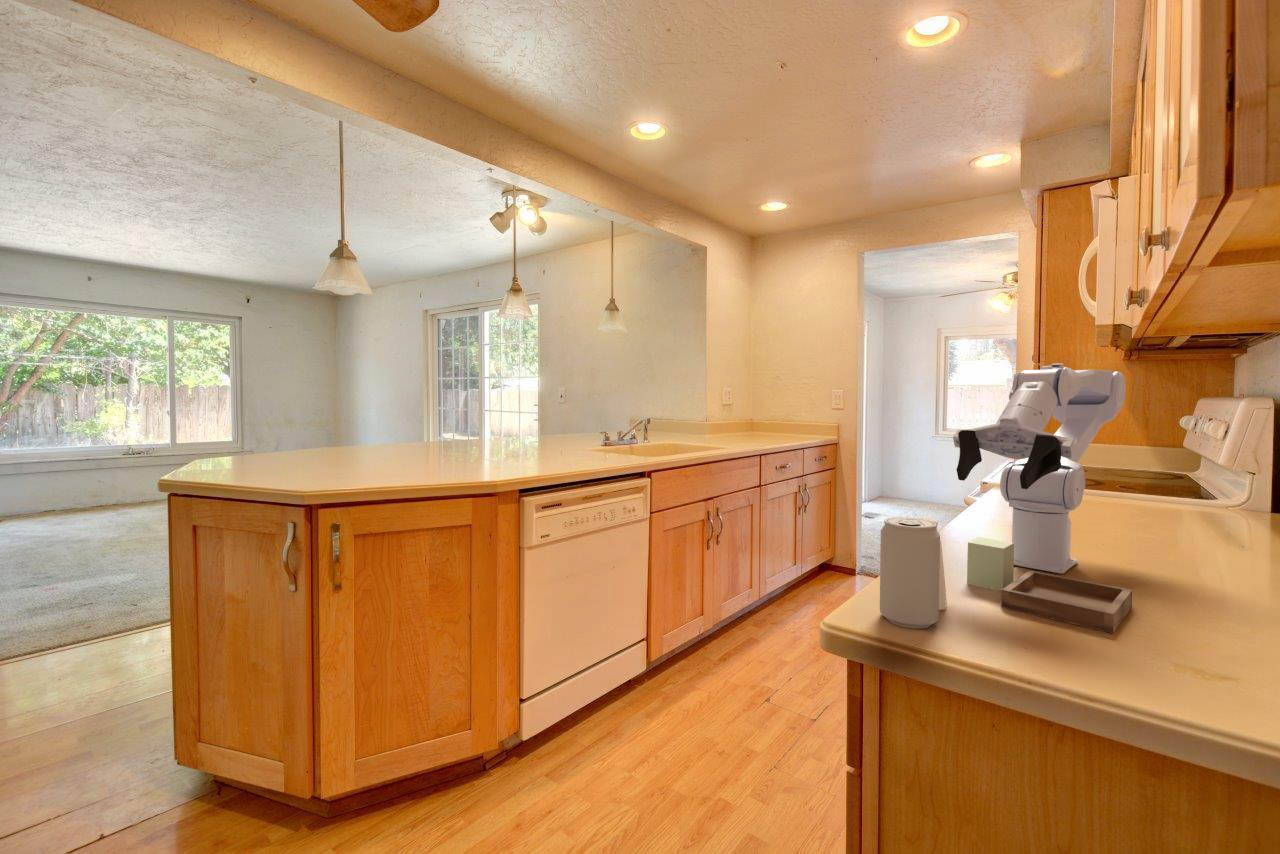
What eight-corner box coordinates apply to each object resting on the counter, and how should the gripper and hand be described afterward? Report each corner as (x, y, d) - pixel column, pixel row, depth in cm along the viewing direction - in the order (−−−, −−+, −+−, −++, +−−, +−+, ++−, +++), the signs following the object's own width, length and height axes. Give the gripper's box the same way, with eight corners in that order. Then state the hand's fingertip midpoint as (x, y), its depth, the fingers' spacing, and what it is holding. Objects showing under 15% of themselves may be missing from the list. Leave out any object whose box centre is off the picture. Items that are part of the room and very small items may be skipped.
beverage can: (877, 625, 66) (878, 523, 65) (881, 607, 72) (883, 513, 71) (938, 635, 63) (940, 529, 62) (938, 615, 69) (940, 518, 68)
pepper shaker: (896, 595, 76) (897, 514, 75) (939, 597, 75) (941, 515, 74) (907, 610, 71) (908, 523, 70) (954, 612, 70) (956, 524, 69)
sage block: (978, 576, 84) (979, 537, 83) (1013, 584, 80) (1014, 542, 80) (966, 583, 81) (967, 542, 80) (1002, 591, 77) (1003, 548, 77)
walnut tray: (1029, 585, 79) (1029, 570, 79) (1131, 606, 71) (1132, 589, 71) (1001, 606, 71) (1001, 589, 71) (1112, 633, 63) (1113, 614, 63)
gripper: (964, 397, 87) (929, 449, 80) (1081, 400, 76) (1052, 462, 69) (971, 434, 90) (938, 487, 83) (1085, 443, 79) (1057, 505, 72)
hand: (990, 478), depth 76 cm, fingers open, 7 cm apart
